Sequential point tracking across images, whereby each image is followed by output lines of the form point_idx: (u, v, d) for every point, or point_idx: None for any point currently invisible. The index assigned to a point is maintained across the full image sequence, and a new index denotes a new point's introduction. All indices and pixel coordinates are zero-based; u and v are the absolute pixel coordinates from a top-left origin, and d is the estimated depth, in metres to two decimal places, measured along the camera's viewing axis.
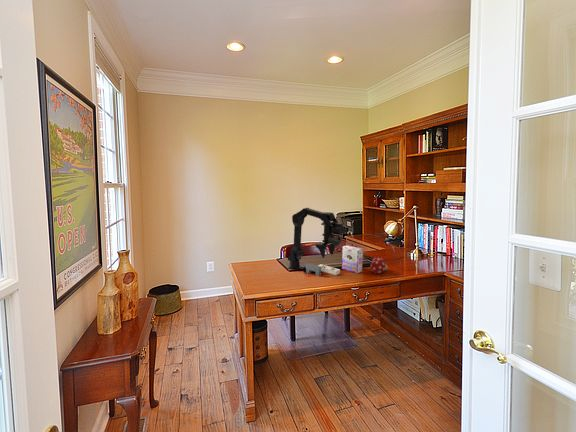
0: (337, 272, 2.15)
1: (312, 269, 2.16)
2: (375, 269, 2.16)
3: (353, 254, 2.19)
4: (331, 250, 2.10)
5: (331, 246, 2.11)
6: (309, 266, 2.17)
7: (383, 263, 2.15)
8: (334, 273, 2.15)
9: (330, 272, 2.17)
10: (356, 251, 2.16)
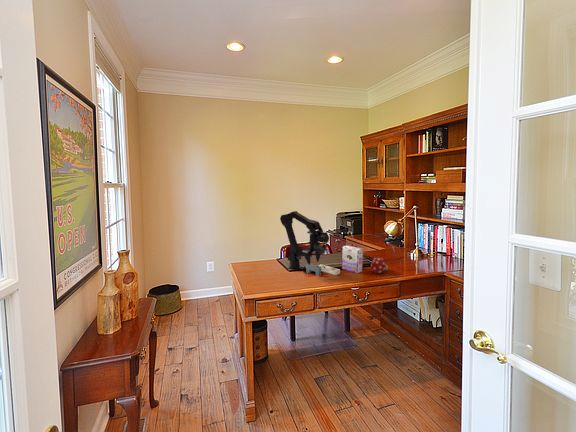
0: (337, 272, 2.15)
1: (312, 269, 2.16)
2: (375, 269, 2.17)
3: (353, 254, 2.19)
4: (317, 257, 2.19)
5: (317, 253, 2.19)
6: (309, 266, 2.17)
7: (383, 263, 2.16)
8: (334, 273, 2.15)
9: (330, 272, 2.17)
10: (356, 251, 2.16)
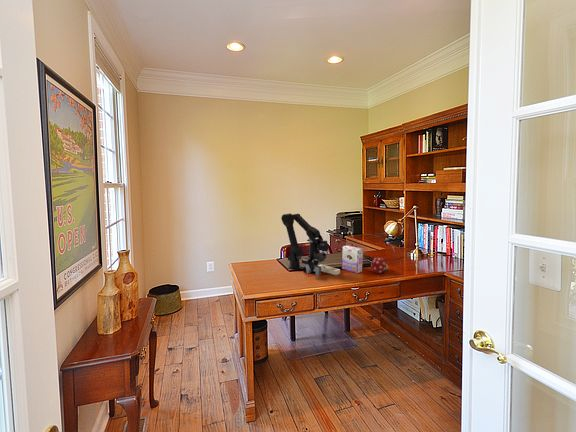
0: (337, 272, 2.15)
1: None
2: (376, 269, 2.17)
3: (353, 254, 2.19)
4: None
5: (314, 262, 2.18)
6: None
7: (384, 263, 2.16)
8: (334, 273, 2.15)
9: (330, 272, 2.17)
10: (356, 251, 2.16)
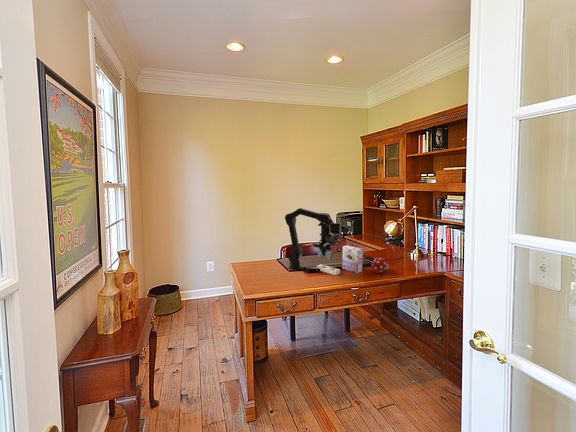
0: (337, 272, 2.15)
1: None
2: (376, 269, 2.17)
3: (353, 254, 2.19)
4: None
5: (326, 246, 2.19)
6: None
7: (384, 263, 2.16)
8: (334, 273, 2.15)
9: (330, 272, 2.17)
10: (356, 251, 2.16)
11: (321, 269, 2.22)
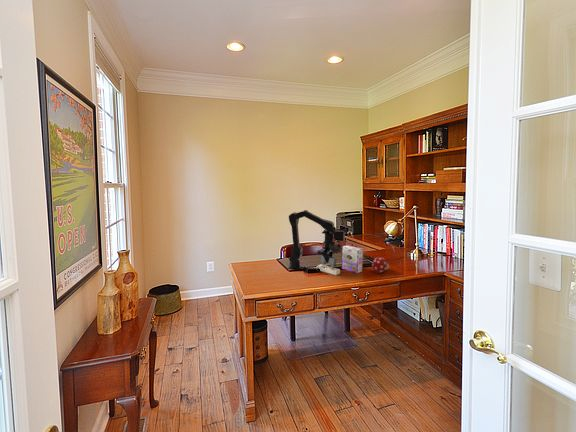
0: (337, 272, 2.15)
1: None
2: (377, 268, 2.18)
3: (353, 254, 2.19)
4: None
5: (329, 253, 2.21)
6: None
7: (385, 262, 2.17)
8: (334, 273, 2.15)
9: (330, 272, 2.17)
10: (356, 251, 2.16)
11: (321, 269, 2.22)
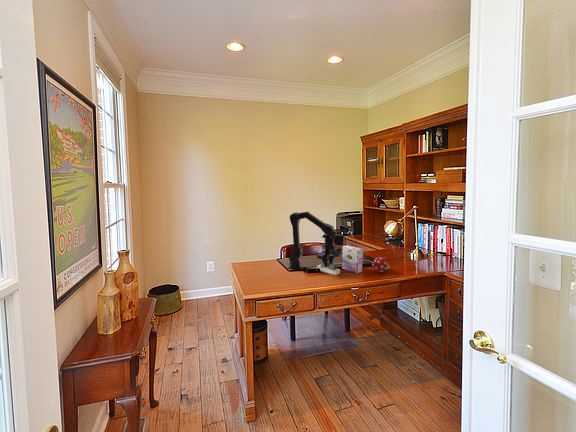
0: (337, 272, 2.15)
1: (327, 266, 2.20)
2: (377, 268, 2.18)
3: (353, 254, 2.19)
4: (330, 261, 2.22)
5: (330, 257, 2.22)
6: None
7: (385, 262, 2.17)
8: (334, 273, 2.15)
9: (330, 272, 2.17)
10: (356, 251, 2.16)
11: (321, 269, 2.22)
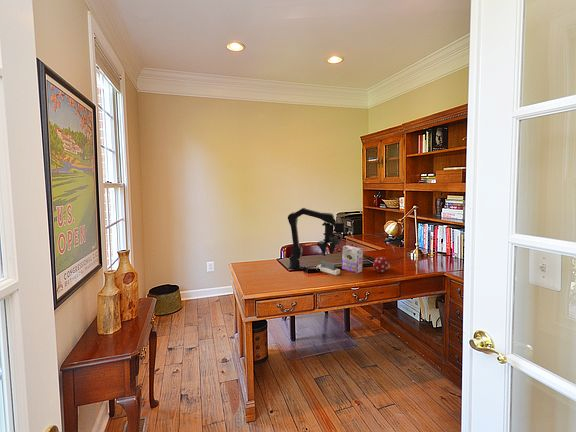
0: (337, 272, 2.15)
1: (327, 266, 2.20)
2: (378, 268, 2.18)
3: (353, 254, 2.19)
4: (332, 248, 2.24)
5: (332, 245, 2.24)
6: (324, 263, 2.21)
7: (386, 262, 2.17)
8: (334, 273, 2.15)
9: (330, 272, 2.17)
10: (356, 251, 2.16)
11: (321, 269, 2.22)
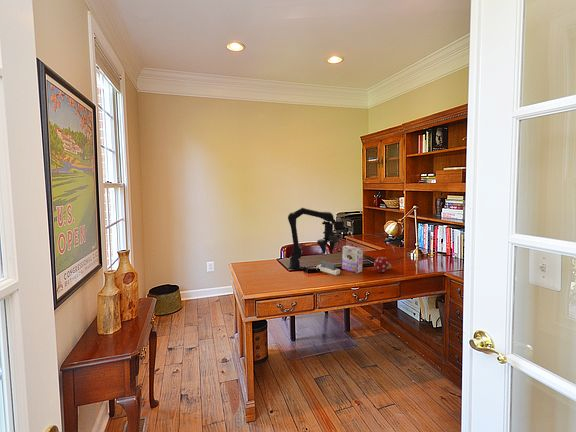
0: (337, 272, 2.15)
1: (327, 266, 2.20)
2: (379, 268, 2.19)
3: (353, 254, 2.19)
4: (331, 247, 2.29)
5: (331, 243, 2.29)
6: (324, 263, 2.21)
7: (387, 262, 2.18)
8: (334, 273, 2.15)
9: (330, 272, 2.17)
10: (356, 251, 2.16)
11: (321, 269, 2.22)
